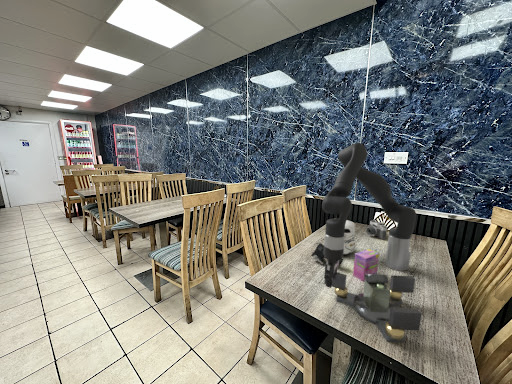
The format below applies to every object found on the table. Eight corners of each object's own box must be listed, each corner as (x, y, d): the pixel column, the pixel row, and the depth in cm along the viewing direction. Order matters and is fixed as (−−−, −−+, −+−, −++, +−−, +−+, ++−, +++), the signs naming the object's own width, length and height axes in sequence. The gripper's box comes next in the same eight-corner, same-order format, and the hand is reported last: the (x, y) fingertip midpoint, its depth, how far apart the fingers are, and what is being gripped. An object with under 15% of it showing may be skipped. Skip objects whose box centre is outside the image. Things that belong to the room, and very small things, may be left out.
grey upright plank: (348, 291, 82) (349, 273, 80) (346, 298, 78) (347, 279, 76) (326, 284, 87) (327, 267, 85) (323, 290, 83) (324, 272, 81)
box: (363, 281, 92) (365, 258, 90) (352, 275, 97) (354, 253, 95) (377, 275, 97) (379, 253, 95) (366, 269, 102) (368, 248, 100)
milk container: (356, 259, 113) (359, 229, 109) (324, 254, 118) (326, 225, 115) (352, 246, 129) (354, 219, 126) (324, 242, 134) (326, 217, 131)
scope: (331, 274, 102) (341, 259, 99) (309, 255, 110) (318, 241, 107) (337, 270, 108) (346, 256, 105) (316, 252, 116) (324, 239, 113)
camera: (361, 231, 155) (362, 219, 153) (373, 231, 155) (374, 218, 153) (373, 239, 139) (375, 226, 137) (387, 239, 140) (389, 225, 138)
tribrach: (394, 296, 83) (398, 265, 80) (437, 344, 61) (445, 304, 59) (332, 293, 84) (335, 262, 82) (354, 339, 63) (357, 300, 61)
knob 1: (391, 299, 78) (393, 280, 76) (384, 291, 82) (386, 273, 81) (415, 300, 77) (418, 281, 75) (406, 292, 82) (409, 274, 80)
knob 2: (390, 339, 61) (394, 315, 59) (382, 326, 65) (384, 304, 64) (421, 341, 60) (425, 317, 59) (410, 327, 65) (414, 305, 63)
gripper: (328, 237, 88) (326, 270, 91) (319, 249, 76) (317, 287, 79) (347, 241, 84) (344, 275, 86) (339, 254, 72) (336, 294, 75)
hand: (331, 281), depth 83 cm, fingers open, 8 cm apart
